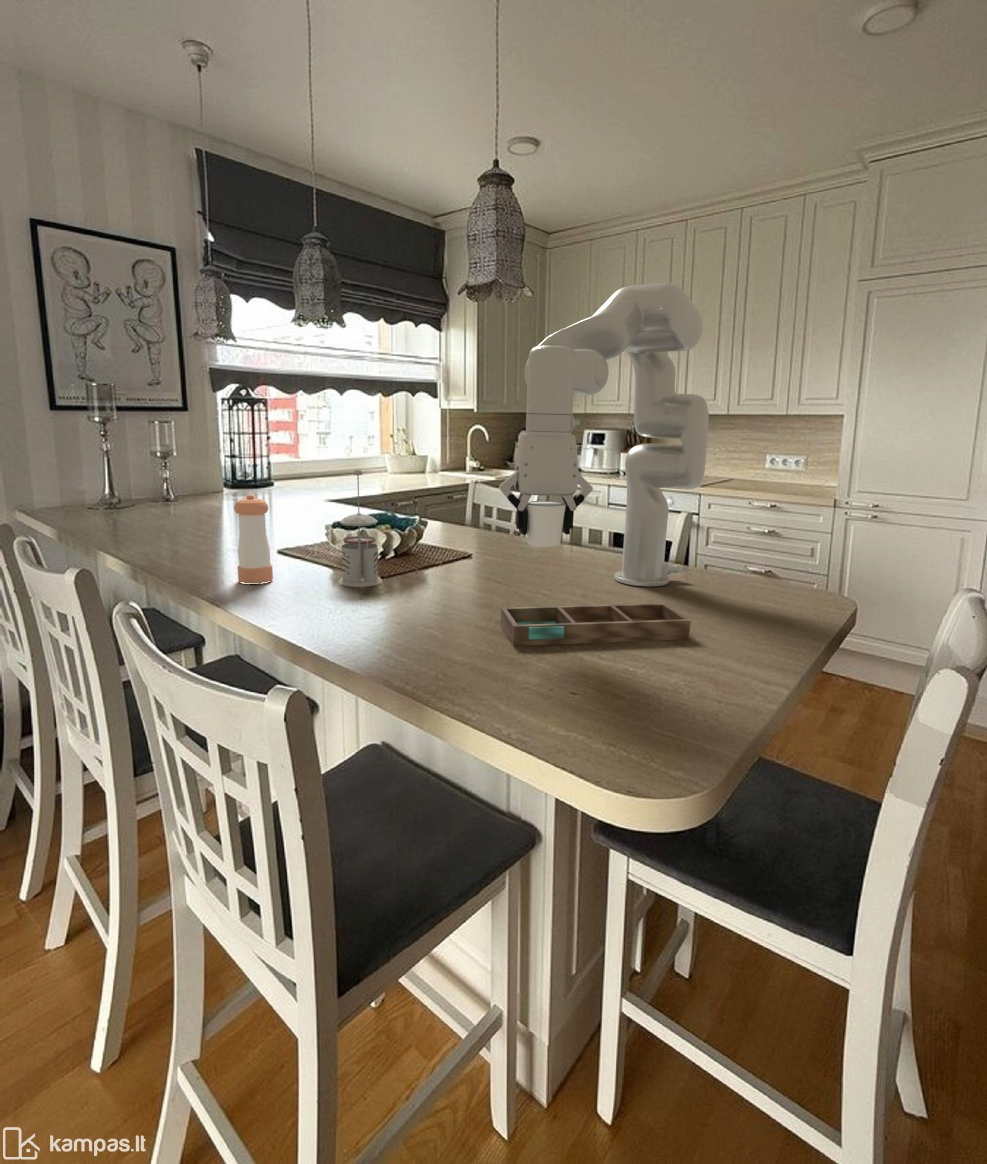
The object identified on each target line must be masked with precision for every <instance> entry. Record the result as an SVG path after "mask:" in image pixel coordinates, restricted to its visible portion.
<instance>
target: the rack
mask: <svg viewBox="0 0 987 1164" xmlns="http://www.w3.org/2000/svg"><path fill="white" fill-rule="evenodd" d="M500 611H501V612H500V627H501V628H502V630H503V631H504V633H505V635H506V637H507V636H508V637H507V638H508V640H509V641H510V643H511V645H512V644H513V645H512V646H513V647H519V646H546V645H570V644H573V645H574V644H599V643H620V642H621V643H625V642H628V643H629V642H643V641H644V642H645V641H647V642H650V641H651V642H652V641H669V640H670V641H675V640H689V639H690V631H691V619H689V618H687V617H686V616H684V615H683V614H681V613H680V612H679V611H676V610H675V609H674V608H672V607H671V606H669V605H667V604H666V603H664V602H658V603H657V602H656V603H629V604H627V603H625V604H624V603H623V604H595V605H594V604H592V605H591V604H588V605H584V604H583V605H553V606H548V605H547V606H519V607H518V606H517V607H515V606H513V607H501V608H500Z"/></svg>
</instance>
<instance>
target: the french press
mask: <svg viewBox="0 0 987 1164" xmlns="http://www.w3.org/2000/svg"><path fill="white" fill-rule="evenodd" d="M353 476H357V477H356V479H357V509H358V510H357V513H355V514H350V515H347V516H346V517H343V519H341V520H340V521H339V522H340V524H341V525H342V526H347V527H358V530H356V531H357V532H356V536H355V535H353V536H346V537H344V538H343V539H342V540H343V542H344V543H345V544H343V545H341V553H342V555H341V559H342V560H341V563H342V566H341V568H342V572H341V573H342V577H341V578H340V579H339V580H338V582H339V583H338V584H339V585H341V586H345V587H351V588H359V587H360V588H363V587H373V586H377V585H379V584H382V583H383V579H382V578H381V577H379V569H378V568H379V564H378V545H377V544H376V543H374V542H376V539H377V538H375V537H373V536H368V532H367V529H366V530H364V534H363V535H361V527H367V526H368V527H369V526H373V525H375V524H377V523H378V520H377V518H374V517H373V516H370V515H368V514H364V513H360V482H359V476H363V472H362V470H360V469H354V471H353ZM346 555H347V556H346ZM345 566H347V567H345Z"/></svg>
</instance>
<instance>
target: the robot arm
mask: <svg viewBox="0 0 987 1164" xmlns="http://www.w3.org/2000/svg"><path fill="white" fill-rule="evenodd" d="M702 320H703V319H702V316H701V313H700V311H699V309H698V307H697V306H696V305H695V303H694V302H693V301H692V299H690V297H689V296H688V295H687V293H686V292H685V291H684V290H683V289H682V288H680V287H679V286H677V285H675V283H671V282H659V283H648V284H647V283H646V284H645V283H644V284H634V285H628V286H624V287H622V288H619V289H618V290H616V291H615V292H614V293H613V294H612V295H610V297H609V298H608V299H606V301H605V302H604V303H603V304H602V305H601V306H600V307H599V309H598V310H597V311H596V312H594V314H593V315H592V316H589V317H587V318H585V319H584V318H583V319H582V320H580V321H578V322H575V323H574V324H571V325H569V326H567V327H565V328H561V329H560V330H558V331H555V332H554V333H552V334H550V335H548V336H547V337H546V338H544V340H542V342H540V343H539V344H538V345H537V346H535V347H533V348H532V349H531V350H530V352H529V354H528V359H527V360H526V363H525V366H524V367H525V368H524V381H525V385H526V386H527V389H526V390H527V391H526V418H525V433H520V435H519V436H520V437H519V438H518V439H519V441H518V444H517V452H516V457H515V458H516V460H515V468H514V469H515V470H514V472H513V473H512V474H510V476H509V477H507V478H506V479H505V480H504V481H502V483H500V484H499V485H498V490H500V492H501V494H503V496H504V497H505V498H506V499H507V500H508V501H509V502H510V504H511V505H512V506H513V507H514V509H516V515H515V516H516V518H515V520H516V521H515V522H516V523H515V527H516V530H518V532H519V534H521V535H523V536H525V535H526V536H527V520H528V512H527V511H526V505H527V503H528V502H530V500H531V498H532V496H545V497H546V496H548V497H549V496H554V497H555V496H560V497H561V501H562V503H564V504H566V506H565V513H564V520H563V527H562V534H565V535H570V534H571V530H572V529H574V513H575V511H576V510H577V508H578V507H579V506H580V505H581V504H582V503H583V502H584V501H585V499H586V498H587V497H588V496H589V495H590V494H591V493H592V491H593V489H594V487H593V486H592V485H591V484H590V482H588V480H586V479H585V478H584V477H583V475H581V474H580V473H579V458H578V446H577V440H576V434H575V435H574V434H572V432H573V431H574V429H576V428H581V425H582V424H581V419H578V418H575V417H574V415H573V414H574V411H573V410H574V396H575V397H583V396H584V397H585V396H588V397H589V396H592V395H595V394H596V395H597V394H598V393H599V392H601V391H602V389H604V388H605V386H606V384H607V382H608V378H609V364H608V362H607V360H611V359H613V358H616V357H618V356H619V355H620V354H622V353H623V352H624V351H626V353H627V355H628V357H629V359H630V361H631V362H632V366H633V370H634V377H635V378H634V403H633V404H634V405H633V408H634V409H633V411H634V412H633V425H634V430H635V432H636V433H637V434H638V436H639V435H640V436H641V437H644V438H653V439H670V440H671V439H672V440H673V439H674V440H680V442H681V444H678V445H677V444H667V443H665V444H663V443H641V444H637V445H635V446H633V447H632V448H630V449H629V450H628V452H627V454H626V456H625V461H624V468H625V469H624V470H625V471H624V472H625V480H626V481H625V482H626V508H625V518H624V519H625V521H624V522H625V523H624V534H623V546H622V547H623V550H622V559H621V560H622V562H621V563H622V564H621V570H619V571H616V572H615V573H614V579H615V580H616V581H617V582H618V583H621V584H624V585H630V586H636V587H637V586H638V587H662V586H666V585H667V584H669V583H670V577H669V575H671V574H683V572H684V566H683V565H682V564H679V565H678V564H676V565H675V564H673V563H668V562H666V561H665V553H666V542H667V532H668V520H669V504H668V501H667V498H666V497H665V495H664V494H663V492H662V490H661V489H664V488H665V489H674V490H675V489H676V490H694V489H697V488H698V487H699V486H700V485H701V484H702V482H703V481H704V477H705V471H706V461H707V448H708V433H709V422H710V421H709V417H710V416H709V415H710V414H709V407H708V403H707V401H706V399H705V398H704V397H703V396H701V395H700V394H695V393H676V373H677V372H676V367H675V364H674V362H673V361H672V359H671V357H670V355H669V354H668V352H685V351H686V352H687V351H690V350H693V349H694V348H695V347H696V346H697V345H698V343H699V342H700V340H701V337H702V334H703V321H702ZM512 486H514V490H516V491H517V492H520V493H519V495H518V497H517V496H516V495H515V494H514V493H513V492H512V491H511V487H512ZM578 487H580V490H579V491H578ZM577 491H578V493H577ZM575 493H576V494H575ZM574 494H575V495H574ZM572 495H574V496H572Z"/></svg>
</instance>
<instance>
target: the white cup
mask: <svg viewBox="0 0 987 1164" xmlns="http://www.w3.org/2000/svg"><path fill="white" fill-rule="evenodd" d="M565 506H566V504H564V502H560V501H553V500H531V501H528V503H527V505H526V511H527V512H528V520H527V534H526V541H527V545H528V546H532V547H539V548H554V547H559V546H561V542H562V541H561V540H562V535H563V532H562V527H563V520H564V513H565Z"/></svg>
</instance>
